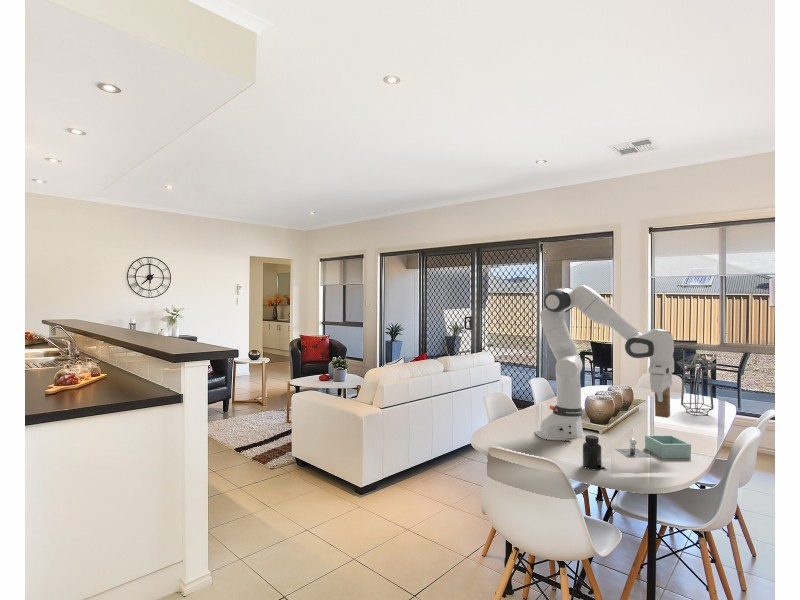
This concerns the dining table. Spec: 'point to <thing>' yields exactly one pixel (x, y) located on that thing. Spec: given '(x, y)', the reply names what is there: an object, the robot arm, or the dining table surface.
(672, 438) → the sage bin
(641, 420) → the dining table surface
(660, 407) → the walnut strut
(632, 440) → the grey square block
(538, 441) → the dining table surface
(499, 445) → the dining table surface
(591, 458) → the supplement bottle
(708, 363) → the geometric lantern
